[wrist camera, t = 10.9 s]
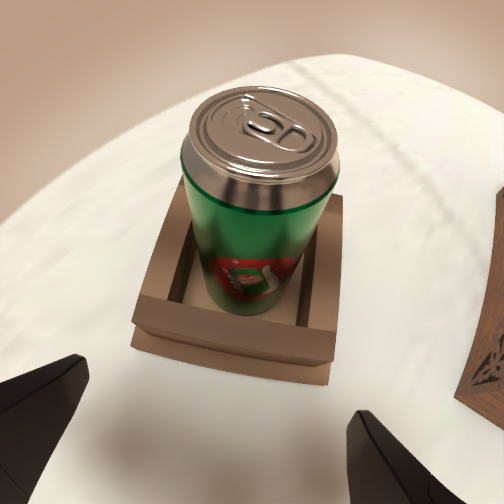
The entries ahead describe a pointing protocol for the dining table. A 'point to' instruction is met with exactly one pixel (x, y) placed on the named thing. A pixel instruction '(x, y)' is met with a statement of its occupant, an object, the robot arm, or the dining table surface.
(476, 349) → the tissue box cover
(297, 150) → the soda can
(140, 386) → the dining table surface
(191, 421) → the dining table surface
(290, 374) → the socket block
